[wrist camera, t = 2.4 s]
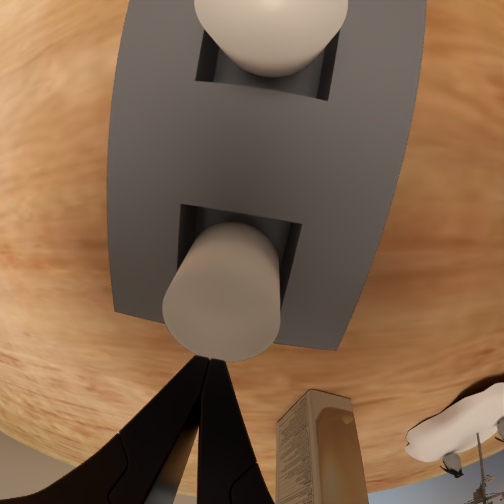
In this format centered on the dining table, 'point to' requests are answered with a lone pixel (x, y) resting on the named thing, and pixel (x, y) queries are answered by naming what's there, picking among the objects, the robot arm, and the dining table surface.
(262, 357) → the dining table surface
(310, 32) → the button
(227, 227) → the button
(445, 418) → the figurine
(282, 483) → the skincare box
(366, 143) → the button panel
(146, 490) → the robot arm
